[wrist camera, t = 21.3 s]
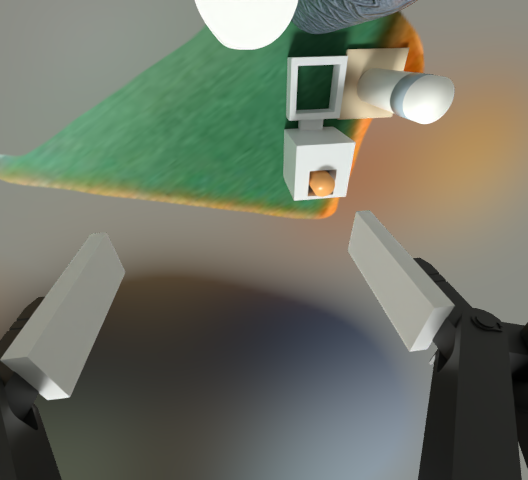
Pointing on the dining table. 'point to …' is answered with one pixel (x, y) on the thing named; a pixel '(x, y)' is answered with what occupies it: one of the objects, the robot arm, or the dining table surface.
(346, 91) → the coaster
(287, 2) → the cylindrical container
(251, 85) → the dining table surface
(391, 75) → the cylinder
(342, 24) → the vase
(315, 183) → the brown egg
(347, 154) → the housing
